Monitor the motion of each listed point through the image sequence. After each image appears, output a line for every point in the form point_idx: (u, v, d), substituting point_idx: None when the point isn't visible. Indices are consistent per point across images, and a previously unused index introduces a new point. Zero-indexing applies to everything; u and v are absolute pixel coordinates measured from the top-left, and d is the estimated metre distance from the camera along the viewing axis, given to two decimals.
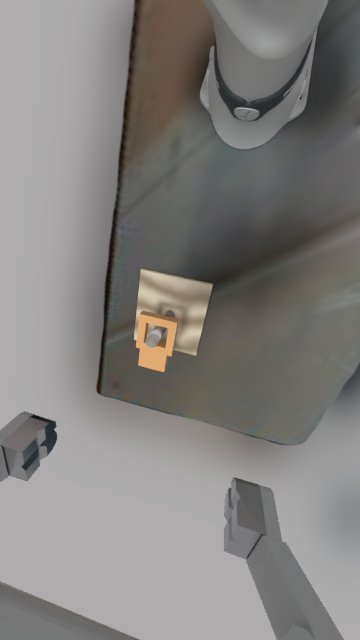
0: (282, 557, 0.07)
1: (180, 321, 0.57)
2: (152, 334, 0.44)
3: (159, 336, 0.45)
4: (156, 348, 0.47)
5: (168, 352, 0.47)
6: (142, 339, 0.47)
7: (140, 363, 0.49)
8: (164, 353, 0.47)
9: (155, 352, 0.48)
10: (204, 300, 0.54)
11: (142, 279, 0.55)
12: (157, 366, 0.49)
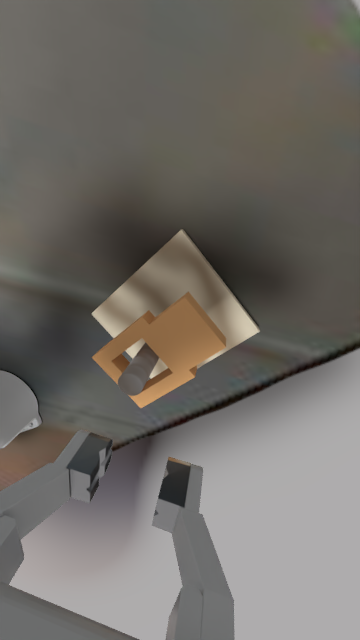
0: (194, 526, 0.07)
1: (162, 302, 0.33)
2: None
3: (127, 367, 0.22)
4: (158, 349, 0.22)
5: (141, 327, 0.21)
6: (170, 378, 0.23)
7: (217, 346, 0.20)
8: (150, 330, 0.21)
9: (166, 344, 0.21)
10: (112, 304, 0.35)
11: None
12: (187, 316, 0.20)
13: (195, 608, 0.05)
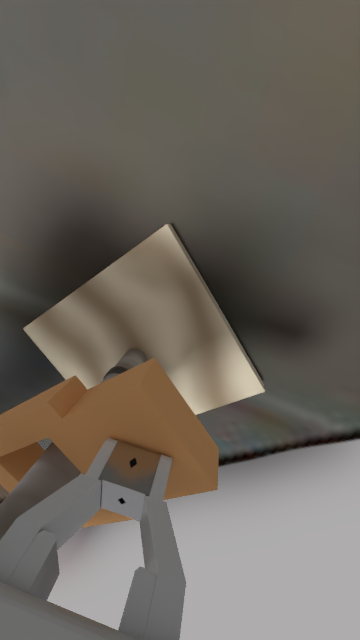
0: (156, 513, 0.07)
1: (127, 329, 0.22)
2: None
3: None
4: (80, 461, 0.11)
5: (47, 419, 0.10)
6: None
7: (199, 484, 0.10)
8: (65, 429, 0.10)
9: None
10: (53, 320, 0.24)
11: None
12: (142, 422, 0.09)
13: (146, 589, 0.06)
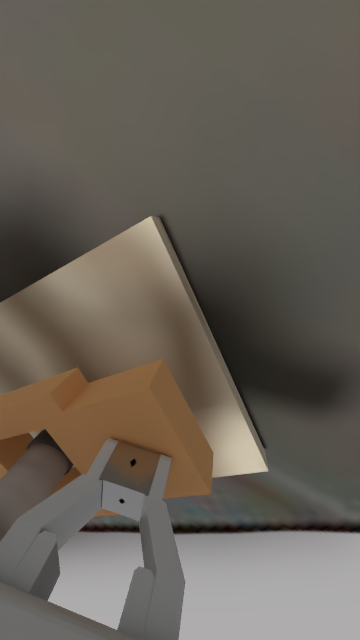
0: (155, 513, 0.07)
1: (81, 364, 0.15)
2: None
3: None
4: (75, 455, 0.11)
5: (46, 410, 0.10)
6: None
7: (193, 488, 0.10)
8: (64, 422, 0.10)
9: (93, 453, 0.10)
10: None
11: None
12: (146, 423, 0.09)
13: (146, 589, 0.06)
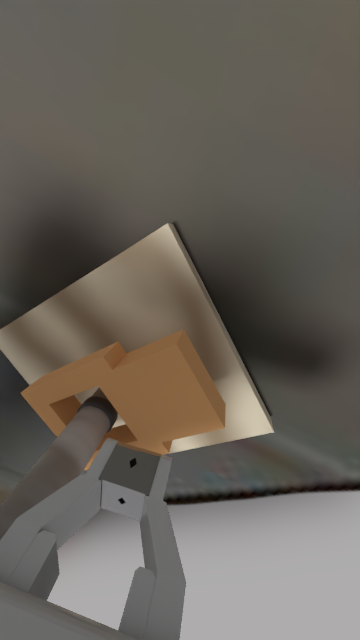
0: (156, 513, 0.07)
1: None
2: None
3: None
4: (120, 406, 0.14)
5: (100, 370, 0.13)
6: None
7: (211, 424, 0.13)
8: (113, 379, 0.13)
9: (135, 402, 0.14)
10: (25, 330, 0.20)
11: None
12: (174, 373, 0.12)
13: (146, 589, 0.06)
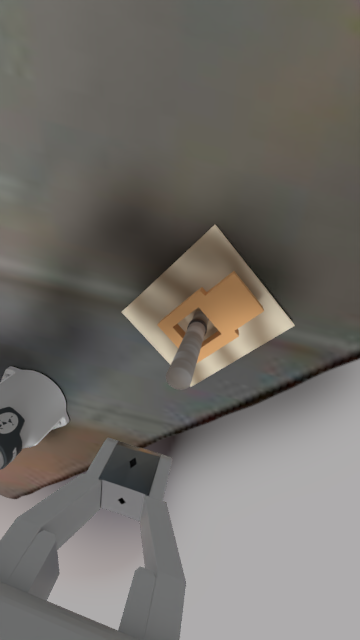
0: (156, 513, 0.07)
1: None
2: None
3: (172, 362, 0.22)
4: (210, 315, 0.29)
5: (198, 298, 0.28)
6: (218, 338, 0.30)
7: (257, 310, 0.27)
8: (206, 300, 0.28)
9: (218, 310, 0.28)
10: (143, 302, 0.36)
11: (199, 378, 0.39)
12: (235, 288, 0.27)
13: (146, 589, 0.06)
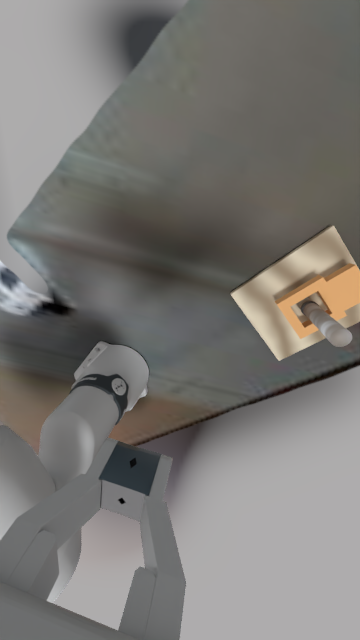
0: (156, 513, 0.07)
1: (300, 285, 0.41)
2: None
3: (325, 328, 0.30)
4: (327, 297, 0.36)
5: (320, 283, 0.36)
6: None
7: None
8: (326, 285, 0.36)
9: (334, 294, 0.36)
10: (253, 286, 0.43)
11: (288, 353, 0.46)
12: (353, 276, 0.34)
13: (146, 589, 0.06)
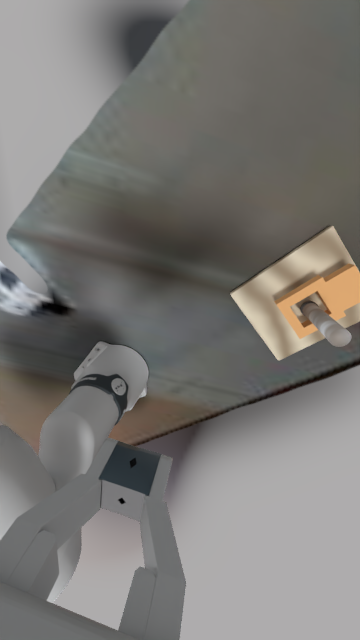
0: (156, 513, 0.07)
1: (299, 285, 0.41)
2: (328, 340, 0.29)
3: (325, 328, 0.30)
4: (326, 298, 0.37)
5: (319, 283, 0.36)
6: None
7: None
8: (325, 286, 0.36)
9: (333, 294, 0.36)
10: (252, 286, 0.43)
11: (287, 353, 0.46)
12: (353, 277, 0.35)
13: (146, 589, 0.06)
